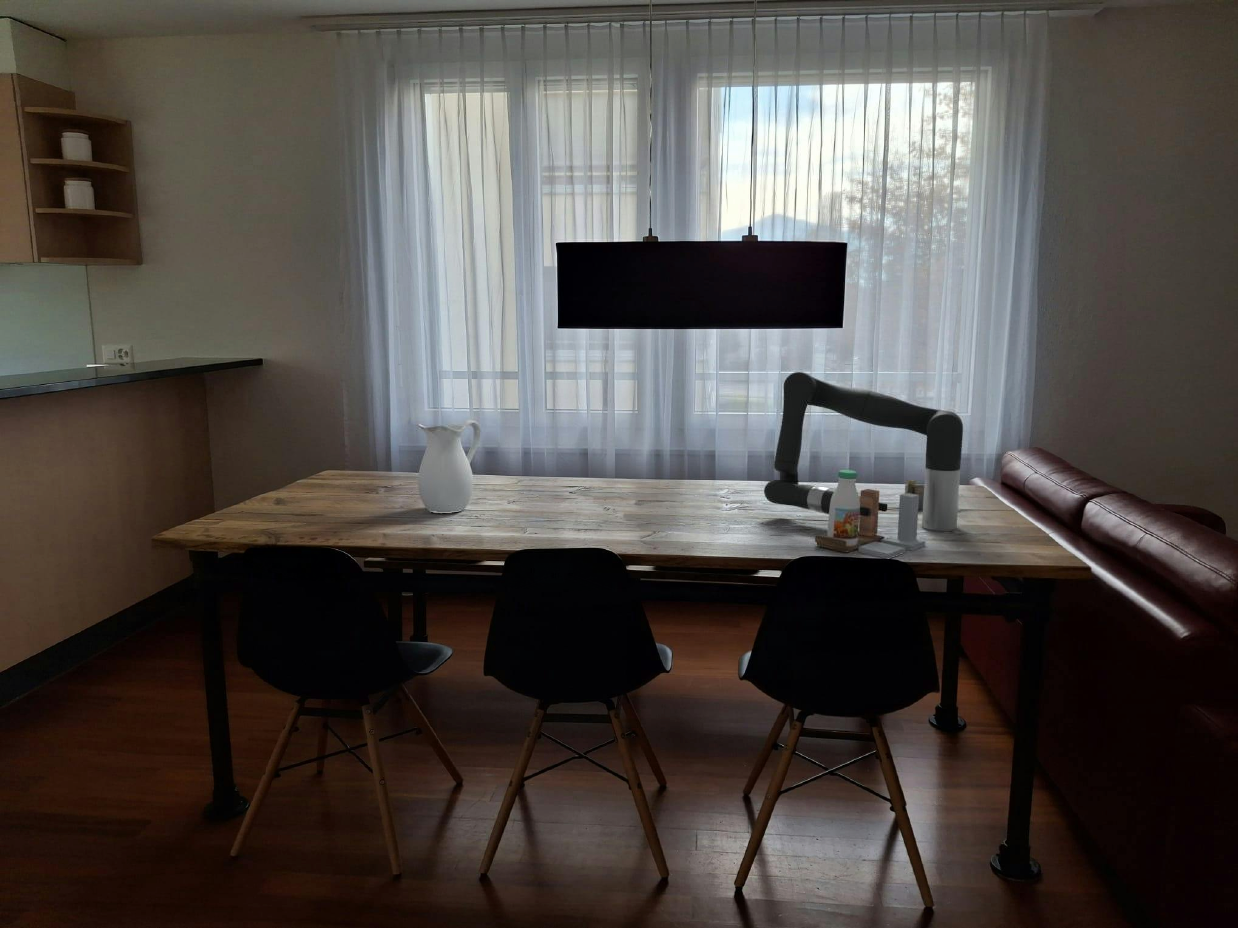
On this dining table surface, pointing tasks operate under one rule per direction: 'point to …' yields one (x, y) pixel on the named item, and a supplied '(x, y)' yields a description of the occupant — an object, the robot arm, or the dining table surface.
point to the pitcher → (447, 467)
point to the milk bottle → (845, 509)
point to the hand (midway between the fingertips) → (878, 510)
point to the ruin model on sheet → (915, 490)
